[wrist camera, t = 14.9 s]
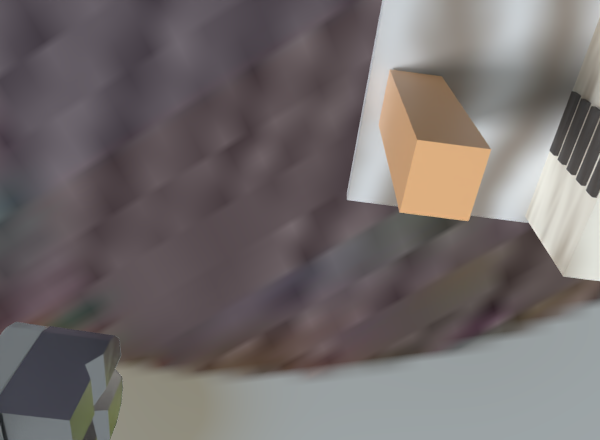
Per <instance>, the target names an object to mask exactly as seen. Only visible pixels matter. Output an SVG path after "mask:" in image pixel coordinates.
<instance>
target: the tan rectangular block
mask: <svg viewBox="0 0 600 440" xmlns="http://www.w3.org/2000/svg"><path fill="white" fill-rule="evenodd" d="M379 129H380V133H381V137H382V141H383V145H384V149H385V154H386V158H387V162H388V166H389V170H390V174H391V178H392V183H393V187H394V191H395V195H396V199H397V203H398V208H399V212H401V213H408V214H416V215H424V216H432V217H440V218H448V219H456V220H464V221H469V218H470V215H471V212H472V209H473V206H474V203H475V199H476V196H477V193H478V190H479V187H480V184H481V181H482V177H483V174H484V171H485V168H486V165H487V162H488V158H489V155H490V152H491V148H490V147H489V145H488V144H487V142H486V141H485V139H484V138H483V136H482V135H481V133H480V132H479V130H478V129H477V127H476V126H475V125H474V123H473V122H472V120H471V119H470V117H469V116H468V114H467V113H466V111H465V110H464V108H463V107H462V105H461V104H460V102H459V101H458V99H457V98H456V97H455V95H454V94H453V92H452V91H451V89H450V88H449V86H448V85H447V83H446V82H445V80H444V79H443V77H442V76H436V75H429V74H421V73H414V72H406V71H398V70H391V69H390V71H389V76H388V80H387V85H386V90H385V95H384V100H383V105H382V110H381V115H380V120H379Z"/></svg>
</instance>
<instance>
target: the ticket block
mask: <svg viewBox="0 0 600 440" xmlns="http://www.w3.org/2000/svg"><path fill="white" fill-rule="evenodd" d="M390 69H391V70H398V71H406V72H414V73H421V74H429V75H436V76H442V77H443V79H444V80H445V82H446V83H447V85H448V86H449V88H450V89H451V91H452V92H453V94H454V95H455V97H456V98H457V99H458V101H459V102H460V104H461V105H462V107H463V108H464V110H465V111H466V113H467V114H468V116H469V117H470V119H471V120H472V122H473V123H474V125H475V126H476V127H477V129H478V130H479V132H480V133H481V135H482V136H483V138H484V139H485V141H486V142H487V144H488V145H489V147H490V148H491V152H490V155H489V158H488V162H487V165H486V168H485V171H484V174H483V177H482V181H481V184H480V187H479V190H478V193H477V196H476V199H475V203H474V206H473V209H472V212H471V215H470V216H478V217H486V218H494V219H502V220H510V221H518V222H526V223H529V224H530V225H531V227H532V228H533V230H534V231H535V233H536V235H537V236H538V238H539V239H540V241H541V242H542V244H543V245H544V247H545V249H546V250H547V252H548V253H549V255H550V256H551V258H552V260H553V261H554V263H555V264H556V266H557V267H558V269H559V270H560V272H561V274H562V275H563V276H564V277H572V278H580V279H588V280H596V281H600V0H382V5H381V10H380V16H379V21H378V27H377V32H376V38H375V43H374V48H373V54H372V59H371V65H370V70H369V76H368V81H367V87H366V92H365V98H364V103H363V109H362V114H361V119H360V125H359V130H358V136H357V141H356V147H355V152H354V158H353V163H352V169H351V174H350V179H349V185H348V190H347V200H351V201H359V202H367V203H375V204H383V205H391V206H398V203H397V199H396V195H395V191H394V187H393V183H392V178H391V174H390V170H389V166H388V162H387V158H386V154H385V149H384V145H383V141H382V137H381V133H380V129H379V120H380V115H381V110H382V105H383V100H384V95H385V90H386V85H387V80H388V76H389V71H390Z"/></svg>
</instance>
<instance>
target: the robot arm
mask: <svg viewBox="0 0 600 440" xmlns="http://www.w3.org/2000/svg"><path fill="white" fill-rule="evenodd" d="M120 357H121V350H120V339H119V338H118V337H116V336H113V335H106V334H100V333H93V332H86V331H79V330H72V329H65V328H58V327H51V326H50V327H46V326H39V325H32V324H26V323H19V322H15V323H13V324H12V325H10V326H8V327H7V328H6V329H5V330H4V331H3V332H2V334H1V335H0V440H110V439H111V436H112V434H113V431H114V428H115V426H116V423H117V419H118V415H119V411H120V407H121V402H122V391H123V384H122V376H121V375H120V374H119V373H118V372H117V370H116V369H115V368H116V366H117V363H118V361H119V359H120Z"/></svg>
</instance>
